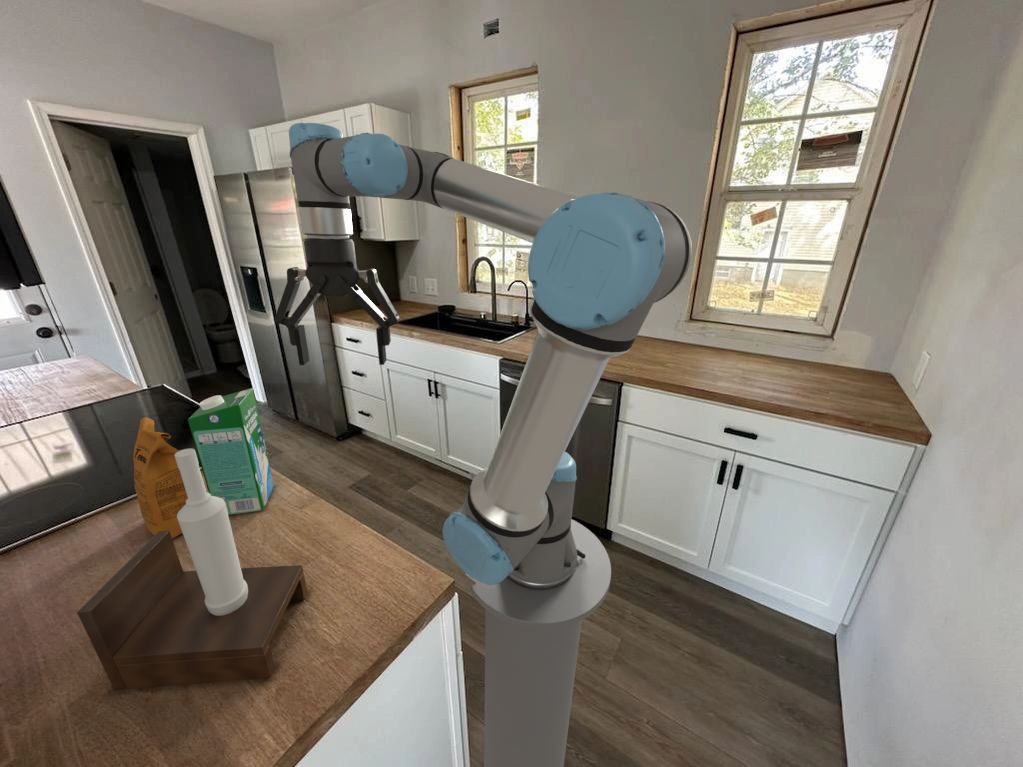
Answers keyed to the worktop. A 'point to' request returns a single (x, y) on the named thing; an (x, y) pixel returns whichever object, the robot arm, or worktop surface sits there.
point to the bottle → (210, 540)
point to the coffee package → (158, 480)
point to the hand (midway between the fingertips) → (344, 362)
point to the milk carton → (233, 451)
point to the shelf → (184, 622)
